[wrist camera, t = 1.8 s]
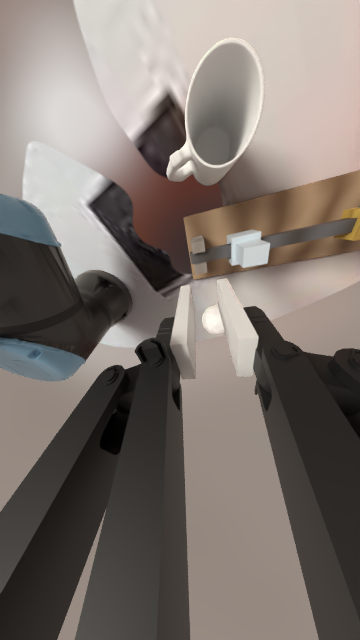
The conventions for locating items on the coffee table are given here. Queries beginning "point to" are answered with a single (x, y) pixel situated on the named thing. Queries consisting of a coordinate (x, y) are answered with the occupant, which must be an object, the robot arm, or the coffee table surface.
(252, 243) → the white stepped block
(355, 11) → the coffee table surface
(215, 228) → the din rail terminal board
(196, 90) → the mug
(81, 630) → the robot arm
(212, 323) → the geometric ball
